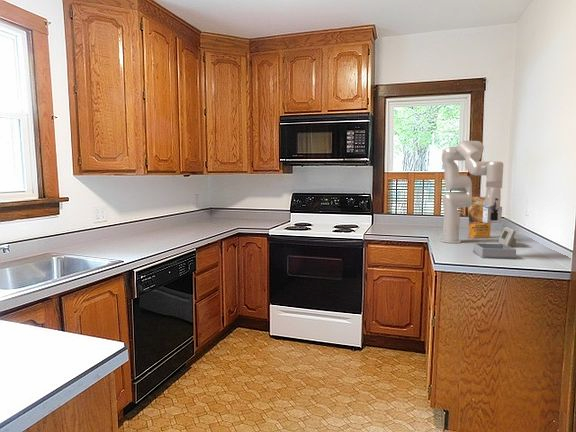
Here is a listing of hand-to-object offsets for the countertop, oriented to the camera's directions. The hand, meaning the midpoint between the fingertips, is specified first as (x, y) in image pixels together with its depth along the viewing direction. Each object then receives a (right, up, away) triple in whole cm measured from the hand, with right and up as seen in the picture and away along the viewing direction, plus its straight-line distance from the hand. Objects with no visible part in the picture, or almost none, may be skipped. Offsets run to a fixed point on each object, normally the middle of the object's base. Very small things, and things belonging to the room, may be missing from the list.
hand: (492, 219), depth 205 cm
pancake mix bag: (+23, -13, +61) cm, 66 cm away
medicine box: (0, -2, 0) cm, 2 cm away
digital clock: (+25, -16, +32) cm, 44 cm away
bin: (+2, -19, +2) cm, 19 cm away
